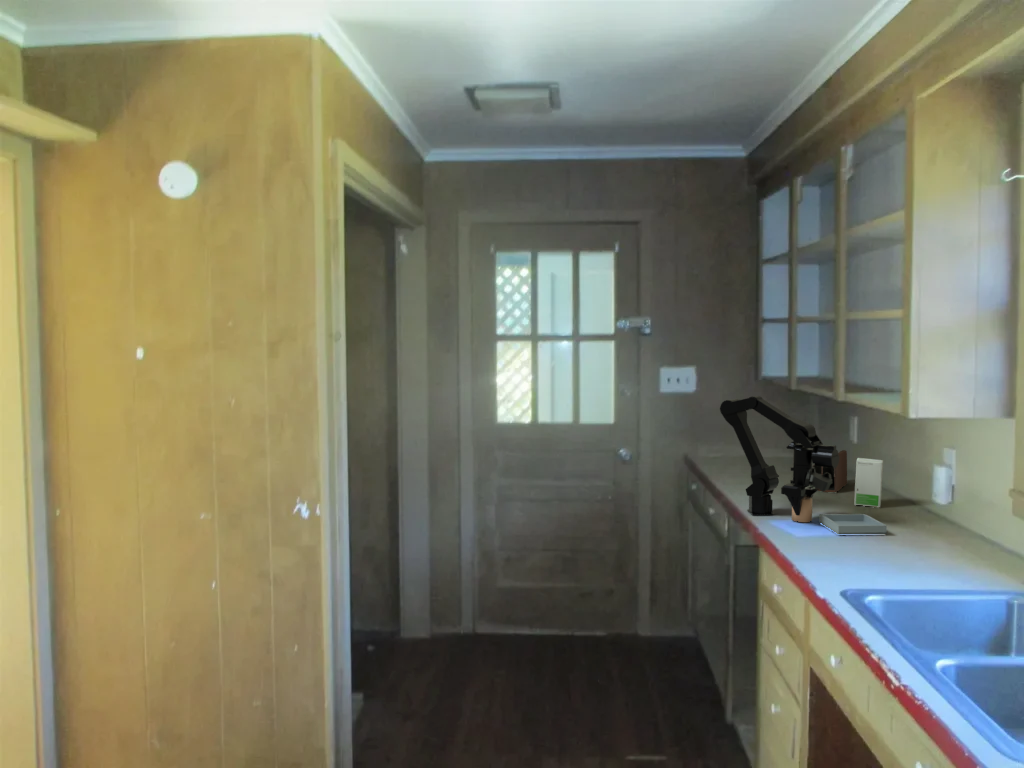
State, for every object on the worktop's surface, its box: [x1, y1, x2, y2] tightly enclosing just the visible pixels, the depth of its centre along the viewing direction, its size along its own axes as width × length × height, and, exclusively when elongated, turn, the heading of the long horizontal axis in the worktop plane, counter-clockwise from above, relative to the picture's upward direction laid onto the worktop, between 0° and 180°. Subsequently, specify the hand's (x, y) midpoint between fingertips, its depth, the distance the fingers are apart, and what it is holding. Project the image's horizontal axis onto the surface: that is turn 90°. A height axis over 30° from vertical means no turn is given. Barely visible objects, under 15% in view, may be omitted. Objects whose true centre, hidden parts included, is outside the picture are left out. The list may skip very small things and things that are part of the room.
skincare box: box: [853, 457, 884, 508], centre depth 265 cm, size 8×7×16 cm
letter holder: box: [813, 449, 848, 493], centre depth 295 cm, size 10×20×14 cm, turn 146°
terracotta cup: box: [791, 496, 813, 523], centre depth 246 cm, size 6×6×7 cm
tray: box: [818, 513, 888, 535], centre depth 235 cm, size 14×14×3 cm
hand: (801, 513), depth 246 cm, fingers closed on terracotta cup, 6 cm apart
